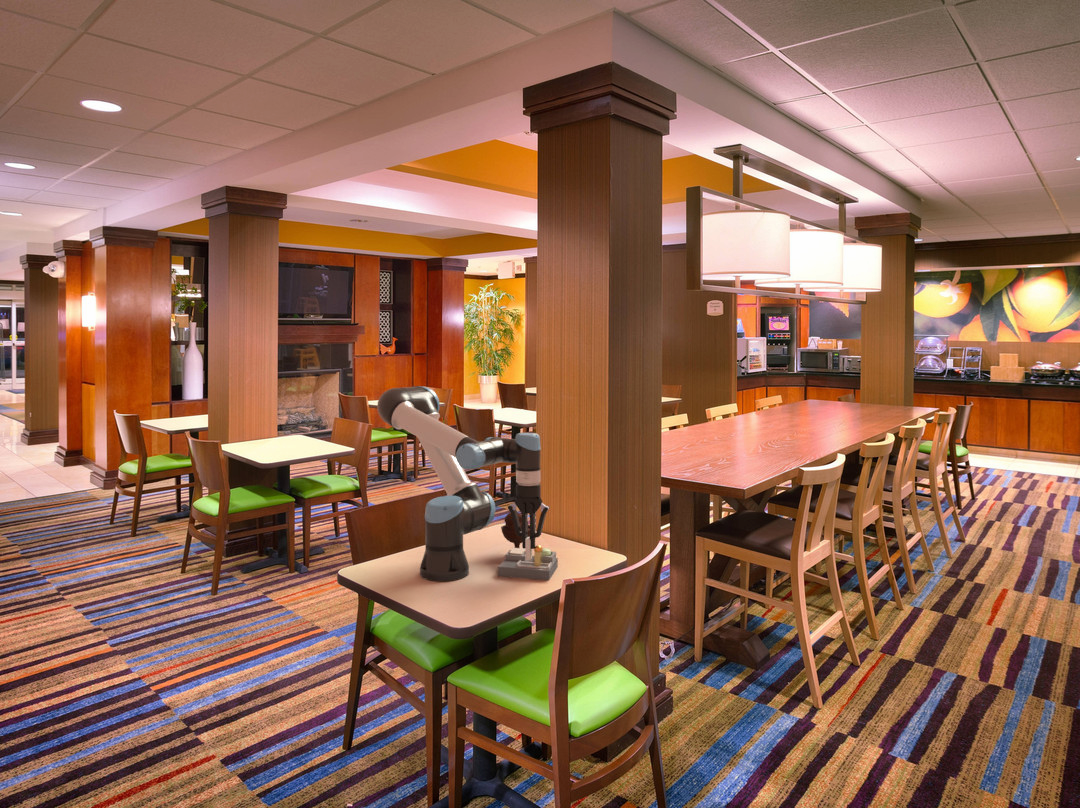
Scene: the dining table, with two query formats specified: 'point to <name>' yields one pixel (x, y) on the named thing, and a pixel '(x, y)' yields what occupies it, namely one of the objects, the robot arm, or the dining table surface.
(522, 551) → the rocker
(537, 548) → the brass lever
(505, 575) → the console
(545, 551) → the green button
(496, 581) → the dining table surface
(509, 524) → the ice cream bowl
